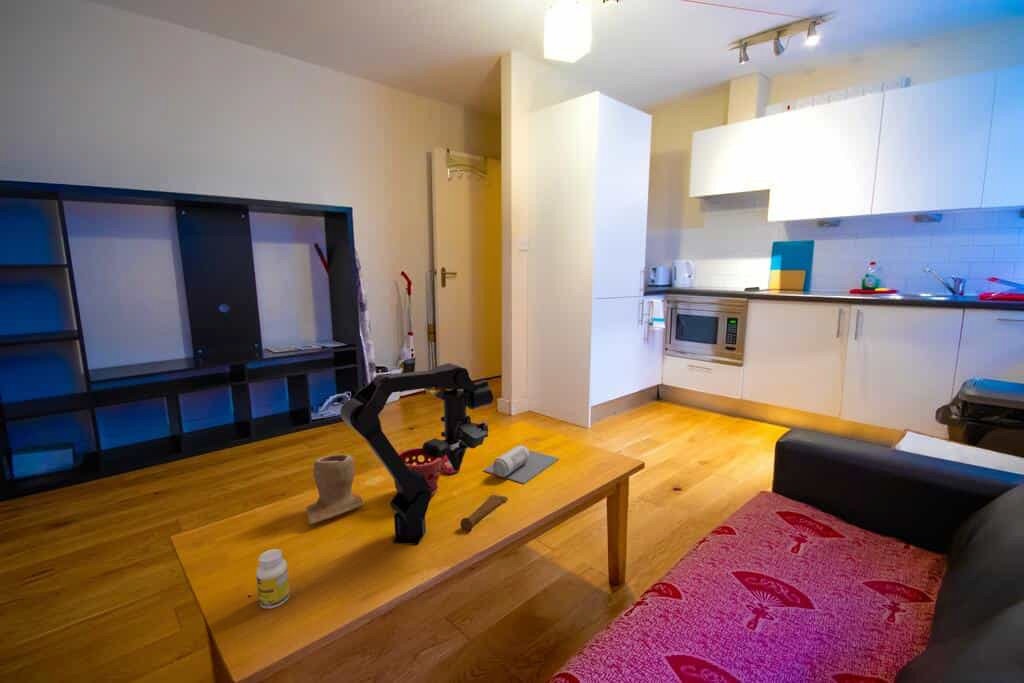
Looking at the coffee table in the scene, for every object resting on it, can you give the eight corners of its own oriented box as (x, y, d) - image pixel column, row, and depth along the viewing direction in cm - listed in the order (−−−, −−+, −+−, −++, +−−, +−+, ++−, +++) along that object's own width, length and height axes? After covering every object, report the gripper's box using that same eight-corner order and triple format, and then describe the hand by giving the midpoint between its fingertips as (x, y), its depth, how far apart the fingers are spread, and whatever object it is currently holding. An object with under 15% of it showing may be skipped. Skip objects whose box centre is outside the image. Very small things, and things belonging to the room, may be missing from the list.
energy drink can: (494, 478, 140) (518, 461, 152) (509, 477, 136) (533, 460, 149) (489, 460, 140) (514, 444, 152) (504, 458, 136) (528, 443, 149)
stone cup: (351, 493, 130) (347, 445, 128) (368, 509, 122) (365, 457, 119) (296, 512, 120) (291, 460, 118) (311, 530, 112) (306, 475, 109)
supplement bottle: (252, 605, 87) (247, 560, 85) (276, 587, 92) (271, 544, 90) (273, 613, 85) (268, 566, 83) (296, 593, 90) (292, 549, 88)
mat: (523, 484, 135) (523, 482, 135) (483, 471, 144) (483, 469, 144) (559, 459, 153) (559, 458, 153) (521, 449, 162) (521, 448, 162)
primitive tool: (492, 495, 129) (492, 484, 129) (509, 499, 127) (509, 488, 126) (458, 531, 112) (458, 518, 111) (478, 536, 110) (477, 523, 109)
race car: (460, 474, 143) (460, 463, 142) (443, 477, 141) (443, 465, 140) (454, 458, 155) (453, 447, 154) (438, 460, 154) (438, 449, 153)
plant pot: (401, 509, 121) (399, 468, 119) (393, 488, 133) (391, 451, 131) (447, 499, 126) (445, 459, 125) (435, 480, 138) (434, 443, 137)
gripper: (453, 429, 101) (455, 493, 104) (502, 408, 116) (502, 464, 119) (419, 420, 107) (422, 480, 110) (469, 402, 123) (471, 455, 125)
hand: (456, 470), depth 116 cm, fingers closed
